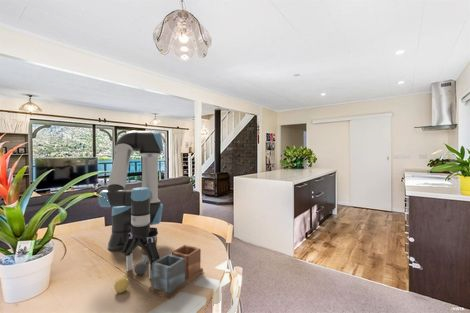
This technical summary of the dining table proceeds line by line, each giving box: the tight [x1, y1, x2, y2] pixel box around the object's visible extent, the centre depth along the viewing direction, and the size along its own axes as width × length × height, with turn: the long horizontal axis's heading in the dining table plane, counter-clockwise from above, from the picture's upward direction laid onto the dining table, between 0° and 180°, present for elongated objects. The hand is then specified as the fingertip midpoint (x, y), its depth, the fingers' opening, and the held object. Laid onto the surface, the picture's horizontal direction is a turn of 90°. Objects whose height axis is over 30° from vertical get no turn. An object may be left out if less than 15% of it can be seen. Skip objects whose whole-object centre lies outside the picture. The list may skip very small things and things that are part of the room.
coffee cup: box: [140, 226, 159, 263], centre depth 110 cm, size 8×8×15 cm
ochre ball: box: [113, 276, 130, 294], centre depth 85 cm, size 5×5×5 cm
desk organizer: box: [148, 244, 204, 300], centre depth 92 cm, size 10×21×10 cm, turn 154°
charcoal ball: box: [133, 261, 148, 275], centre depth 97 cm, size 5×5×5 cm
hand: (140, 273), depth 97 cm, fingers open, 13 cm apart
